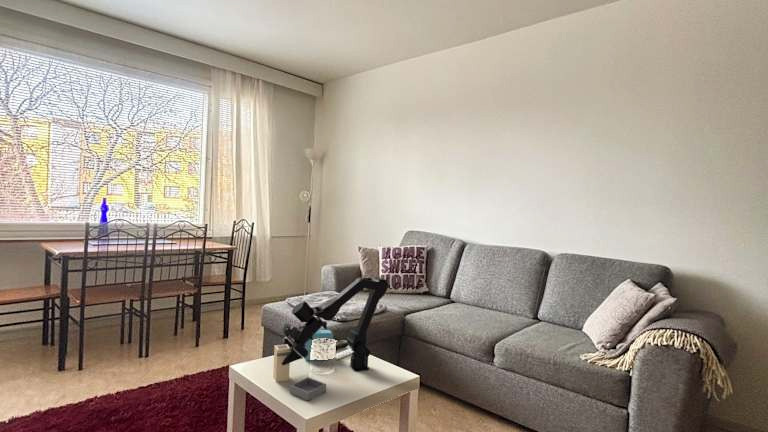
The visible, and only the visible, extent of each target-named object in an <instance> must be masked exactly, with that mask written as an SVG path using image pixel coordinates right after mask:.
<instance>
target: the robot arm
mask: <svg viewBox="0 0 768 432" xmlns="http://www.w3.org/2000/svg"><path fill="white" fill-rule="evenodd" d="M363 289H367V290H368V297H367V299H366V301H365V305H364V306H363V307H364V308H363V310H362V312H361V314H360V318H359V320H358V323H357V325H356V328H355V329H354V330H352V329H349V333H348V336H347V337H346V340H347V341H346V342H347V345H348V347H349V348H350V350H351V351H352V352H351V356H350V363H349V367H350V368H352V370H353V371H354V372H359V371H367V370H369V369H370V367H369V365H368V364H369V356H370V354H371V352H372V351H371V350H370V349H369V348H368V347H367V346H366V345H367V340H368V335H367V333H368V330H369V328H370V325H371V322H372V320H373V317H374V314H375V312H376V309H377V306H378V304H379V301H380V300H381V299H383V297H384V296H385V295H386V293H387V291H388V289H389V282H388V281H387V280H386V279H384V278H382V277H380V276H374V277H361V276H360V277H359V276H358V277H356V279H355V280H354V281H353V282H351V283H350V284H349V285H348V286H347V287H345V288H344V289H343V290H342V291H340V293H338V295H336V296H334V297H333V298H330V299H328V300H326V301H323V302H322V303H321V304H319V305H317V306H313V307H311V306H310V305H309V303H307V301H306V300H303V301H302V302H300V303H298V304H296V305H295V306H294V307H293V308H292V309H291V314H292V315H293V316H294V317H295V318H297V320H298V321H300V323H304V324H303V325H299V326H298V327H296V326H294V325H292V324H289V323H287V322H285V323H284V325H283V327H282V329H281V332H282V333H283V342H282V344H281V345H284V344H287V345H288V346H289V347H290V353H289V354H288V355H287V357H286V358H285V359H284V361H283V362H282V365H286V364H288V363H293V362H296V361H298V360H303V359H305V358H306V357H307V356H308V350H307V349H306V348H305V347H306V346H305V344H306V343H307V342H308V341H309V340H310V339H311V340H312V339H313V337H312V336H313V335H314V334H315V333H316V332H317V331H318V330H321V328H323V329H324V330H328V322H327V321H329V322H330V321H332V320H333V319H334V318H335V317H336V316H337V315H338V313H339V312H340V310H341V308H342V307H344V305H345V304H346V303H348V302H349V301H350V300H351V299H352V298H353V297H354V296H355V295H357V294H358V293H360V292H361V291H362V290H363ZM314 315H315V316H316V317H315V316H314Z"/></svg>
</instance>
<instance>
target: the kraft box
mask: <svg viewBox="0 0 768 432" xmlns="http://www.w3.org/2000/svg"><path fill="white" fill-rule="evenodd" d="M273 349H274V351H273V352H274V353H273V374H272V375H273V379H274V381H275V383H279V382H285V381H290V363H288V364H286V365H282V362H283V361H284V359H285V358H286V357H287V355H288V354H289V353H290V347H289V346H288V345H287V344H284V345H282V344H277V345H274V348H273Z"/></svg>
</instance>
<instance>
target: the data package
mask: <svg viewBox="0 0 768 432" xmlns="http://www.w3.org/2000/svg"><path fill="white" fill-rule="evenodd" d="M312 337H313V339H312V340H314V339H317V338H329V339H333V340H334V334H333V332H332V330H330V329H319V330H318V331H317V332H316V333H315V334H314V335H313V336H312ZM312 340H311V339H310V340H309V341H308V342H307V343H306V344H305V346H306V347H305V348H306V349H307V350H308V356H307V357H306V358H304V360H305V361H307V362H309V360H310V349H311V345H312Z"/></svg>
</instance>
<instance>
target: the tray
mask: <svg viewBox="0 0 768 432" xmlns="http://www.w3.org/2000/svg"><path fill="white" fill-rule="evenodd" d="M326 392H327V384H326V383H324V382H321V381H319V380H316V379H313V378H311V377H305V378H303V379H301V380H298V381H297V382H295V383H292V384H290V385H289V394H290V395H292V396H294V397H298V398H299V399H302V400H304V401H306V402H310V401H311V400H314V399H316V398H317V397H319V396H322V395H323V394H325V393H326Z"/></svg>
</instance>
